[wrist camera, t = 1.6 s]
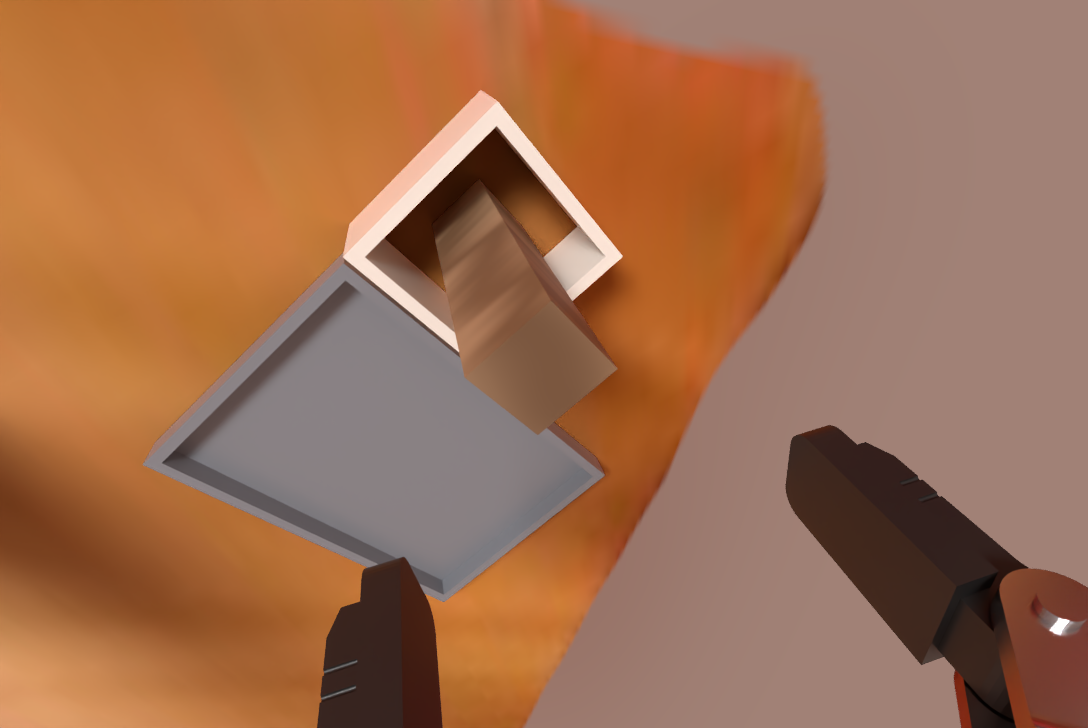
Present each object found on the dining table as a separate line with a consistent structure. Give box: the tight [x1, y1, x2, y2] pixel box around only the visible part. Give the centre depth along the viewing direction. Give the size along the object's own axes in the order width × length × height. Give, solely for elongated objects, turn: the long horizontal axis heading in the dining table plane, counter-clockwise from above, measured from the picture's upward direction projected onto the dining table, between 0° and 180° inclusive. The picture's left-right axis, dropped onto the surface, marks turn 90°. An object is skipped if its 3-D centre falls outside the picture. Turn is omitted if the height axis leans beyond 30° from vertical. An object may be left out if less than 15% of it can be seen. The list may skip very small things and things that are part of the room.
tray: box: [143, 252, 605, 602], centre depth 32 cm, size 15×21×2 cm
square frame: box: [343, 90, 623, 352], centre depth 25 cm, size 9×9×4 cm
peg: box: [432, 179, 617, 435], centre depth 21 cm, size 3×3×14 cm
